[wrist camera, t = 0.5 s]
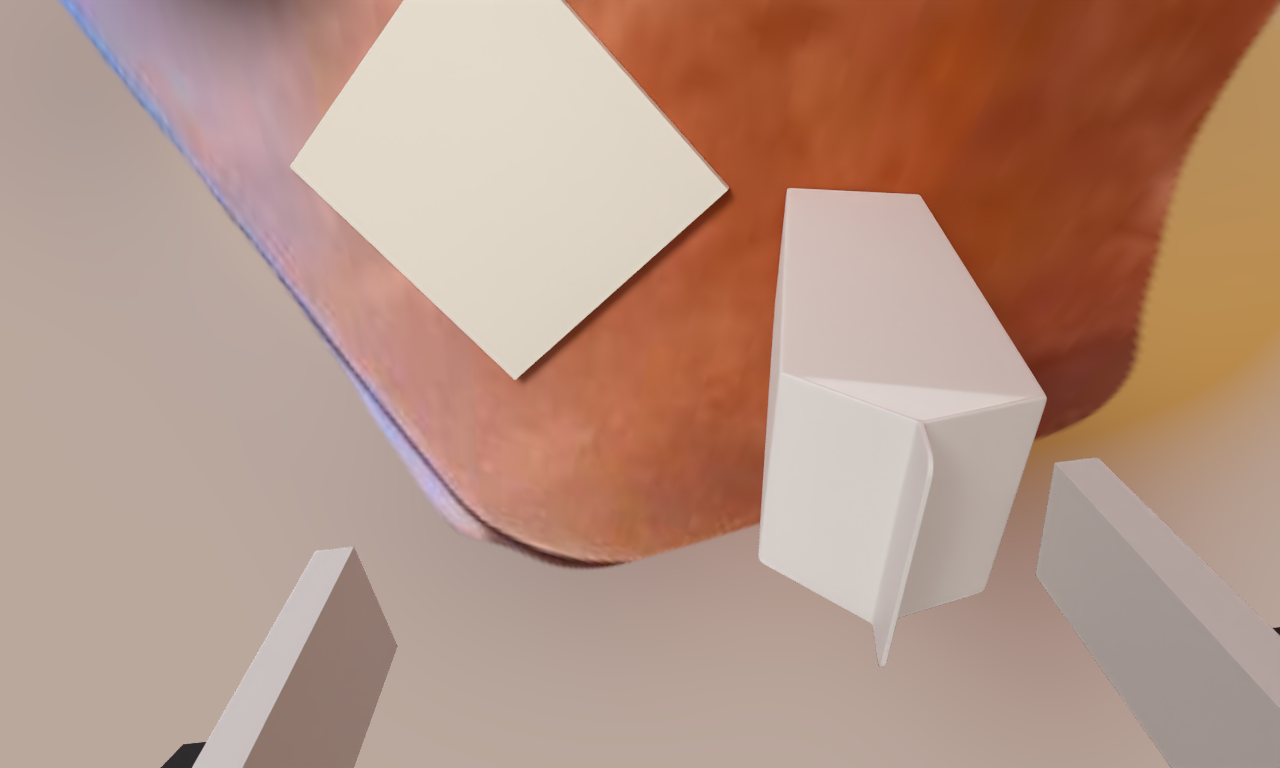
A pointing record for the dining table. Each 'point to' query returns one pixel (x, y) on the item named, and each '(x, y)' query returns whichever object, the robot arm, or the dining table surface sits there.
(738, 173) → the dining table surface
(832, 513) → the milk
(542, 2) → the mat
